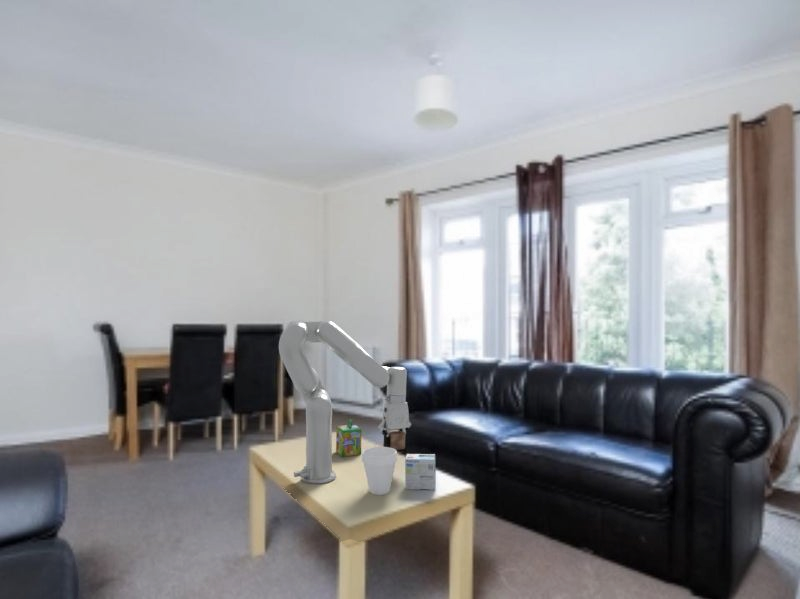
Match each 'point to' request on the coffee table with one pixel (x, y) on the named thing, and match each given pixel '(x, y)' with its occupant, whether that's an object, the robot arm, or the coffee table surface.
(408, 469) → the light bulb box
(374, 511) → the coffee table surface
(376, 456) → the cup
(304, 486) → the coffee table surface
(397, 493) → the coffee table surface
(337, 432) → the chalk box
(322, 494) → the coffee table surface
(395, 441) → the walnut block
